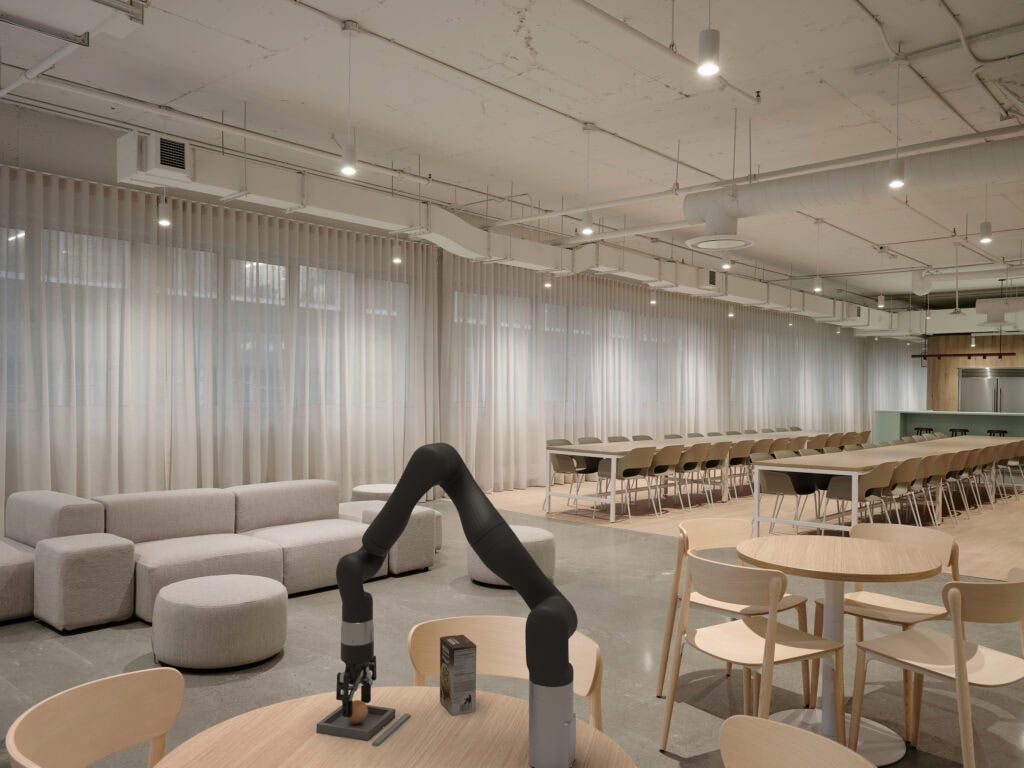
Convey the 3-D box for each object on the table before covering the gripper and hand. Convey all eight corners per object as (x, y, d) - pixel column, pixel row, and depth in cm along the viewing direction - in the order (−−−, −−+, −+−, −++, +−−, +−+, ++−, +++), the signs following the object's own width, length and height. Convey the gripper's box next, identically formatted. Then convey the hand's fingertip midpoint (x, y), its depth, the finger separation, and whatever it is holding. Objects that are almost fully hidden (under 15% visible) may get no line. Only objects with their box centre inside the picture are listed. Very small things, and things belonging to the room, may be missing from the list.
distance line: (410, 716, 182) (410, 714, 182) (378, 746, 167) (378, 743, 167) (404, 715, 182) (404, 713, 182) (372, 745, 167) (372, 742, 167)
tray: (395, 717, 181) (395, 709, 181) (368, 741, 169) (368, 732, 169) (346, 710, 185) (346, 701, 185) (316, 732, 173) (316, 723, 173)
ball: (371, 719, 179) (371, 698, 179) (361, 728, 174) (361, 706, 174) (352, 717, 180) (352, 695, 180) (341, 725, 176) (341, 703, 176)
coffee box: (438, 702, 191) (439, 636, 191) (462, 697, 193) (463, 633, 194) (451, 716, 182) (451, 647, 183) (476, 711, 185) (477, 644, 185)
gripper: (356, 650, 170) (355, 724, 169) (386, 631, 183) (386, 699, 183) (326, 646, 172) (325, 719, 172) (358, 627, 185) (357, 695, 185)
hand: (356, 709), depth 177 cm, fingers open, 8 cm apart
